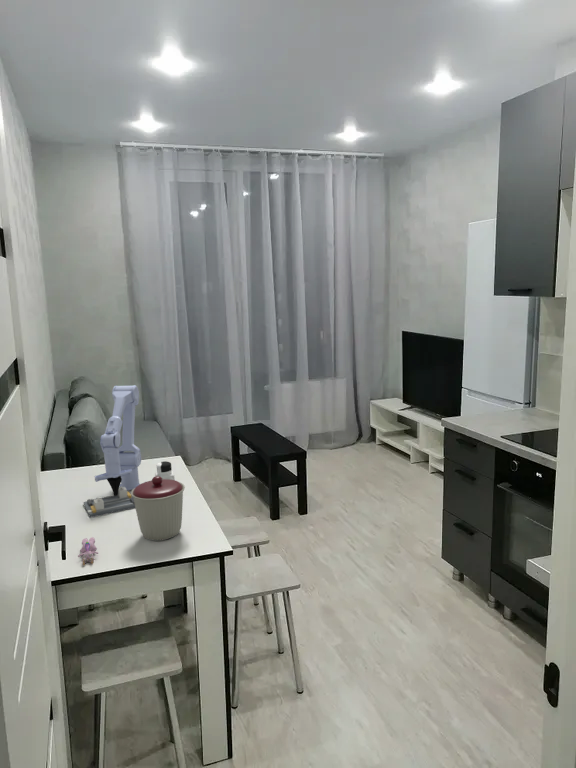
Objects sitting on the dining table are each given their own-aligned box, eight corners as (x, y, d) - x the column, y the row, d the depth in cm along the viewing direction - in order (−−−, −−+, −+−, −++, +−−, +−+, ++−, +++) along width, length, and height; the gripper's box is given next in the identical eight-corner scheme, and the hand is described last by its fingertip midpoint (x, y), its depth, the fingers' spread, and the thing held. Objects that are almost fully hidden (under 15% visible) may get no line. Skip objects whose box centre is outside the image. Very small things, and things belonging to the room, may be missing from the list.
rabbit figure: (99, 567, 185) (99, 541, 198) (97, 551, 183) (97, 525, 196) (78, 571, 183) (79, 544, 197) (76, 554, 181) (77, 528, 195)
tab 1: (94, 507, 227) (93, 498, 227) (102, 505, 229) (101, 496, 228) (96, 510, 224) (95, 501, 223) (104, 509, 225) (103, 499, 224)
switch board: (83, 504, 235) (83, 499, 234) (133, 494, 244) (133, 489, 243) (90, 517, 221) (89, 512, 221) (143, 506, 231) (142, 500, 230)
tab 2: (118, 495, 239) (117, 486, 238) (125, 494, 240) (124, 485, 240) (120, 498, 236) (119, 489, 235) (127, 497, 237) (126, 488, 236)
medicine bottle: (173, 486, 252) (171, 459, 250) (175, 491, 246) (173, 463, 243) (156, 488, 250) (154, 461, 248) (158, 494, 243) (155, 466, 241)
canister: (145, 523, 214) (140, 468, 210) (194, 523, 212) (189, 467, 208) (126, 545, 196) (121, 485, 192) (179, 546, 194) (174, 485, 190)
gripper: (95, 468, 227) (99, 501, 230) (133, 461, 234) (136, 494, 236) (92, 463, 234) (95, 496, 236) (129, 457, 240) (132, 489, 243)
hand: (115, 495), depth 237 cm, fingers closed
